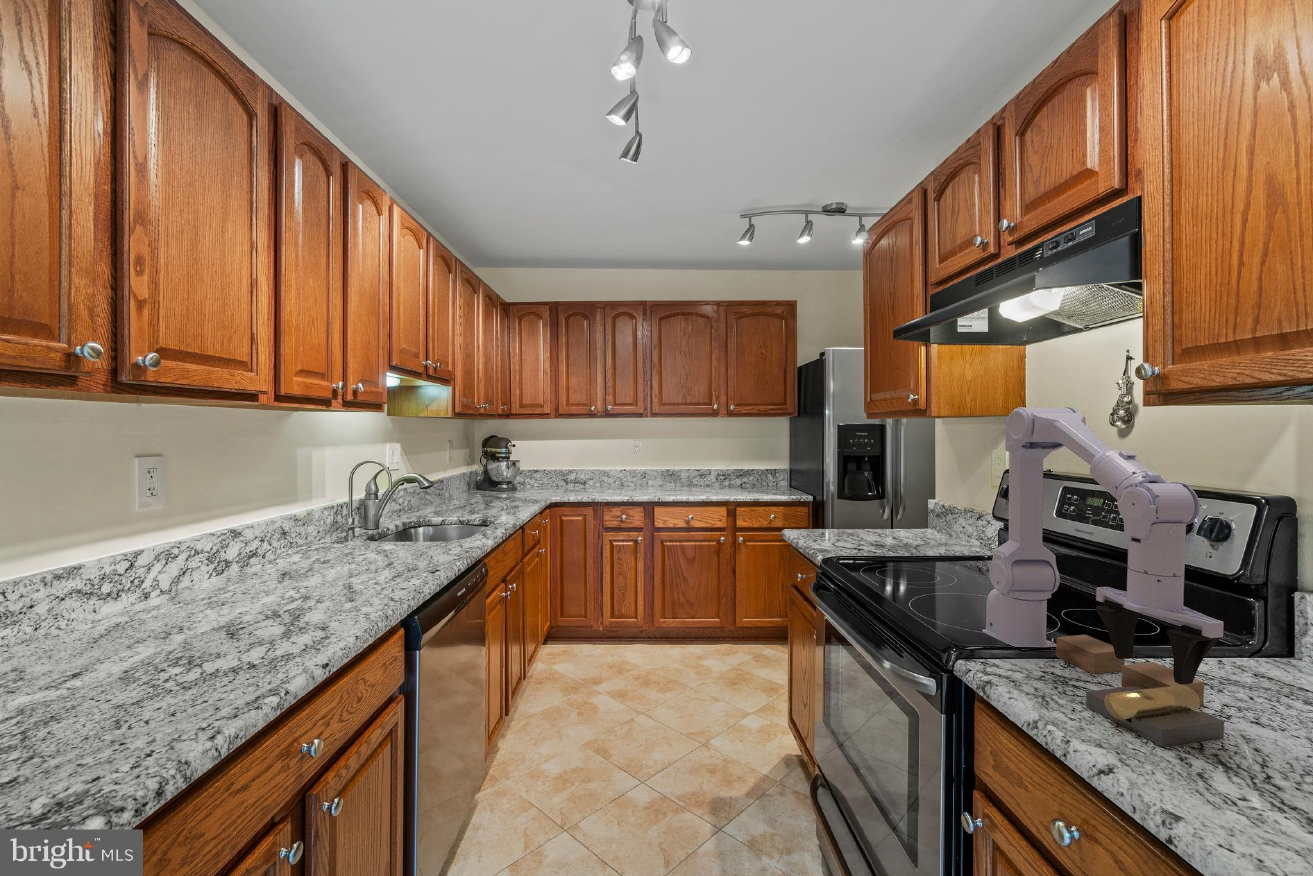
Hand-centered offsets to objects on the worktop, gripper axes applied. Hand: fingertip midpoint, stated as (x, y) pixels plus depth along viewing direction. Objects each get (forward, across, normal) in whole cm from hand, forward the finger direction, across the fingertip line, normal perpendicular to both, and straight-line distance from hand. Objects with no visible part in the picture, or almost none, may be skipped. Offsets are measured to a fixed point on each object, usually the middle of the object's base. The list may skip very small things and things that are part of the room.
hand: (1152, 669), depth 75 cm
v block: (+7, 0, 0) cm, 7 cm away
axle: (+6, 0, 0) cm, 6 cm away
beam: (+7, -11, +9) cm, 16 cm away
